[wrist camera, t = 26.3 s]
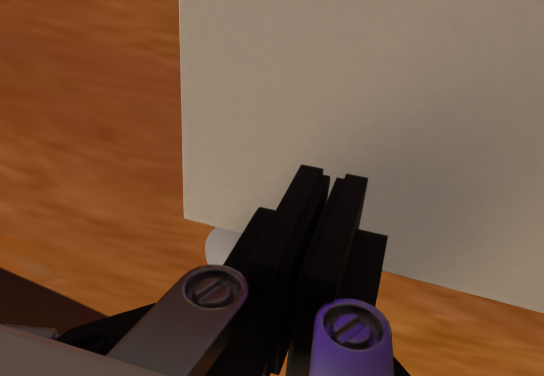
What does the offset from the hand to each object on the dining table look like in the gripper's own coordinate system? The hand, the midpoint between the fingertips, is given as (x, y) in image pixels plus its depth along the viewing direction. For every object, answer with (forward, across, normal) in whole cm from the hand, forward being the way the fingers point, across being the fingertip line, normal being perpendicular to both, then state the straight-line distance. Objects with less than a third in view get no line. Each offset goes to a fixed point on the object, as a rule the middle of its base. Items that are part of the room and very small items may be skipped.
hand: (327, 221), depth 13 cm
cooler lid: (+8, -1, 0) cm, 8 cm away
